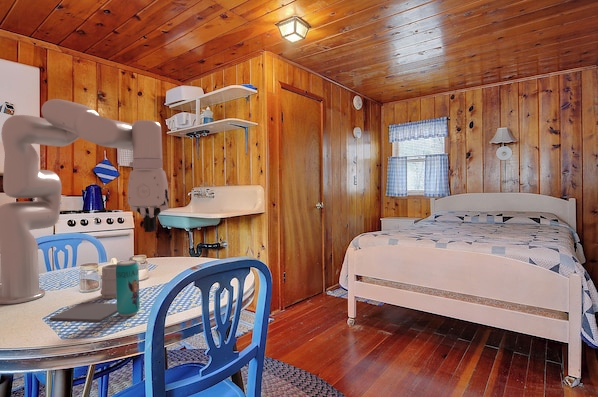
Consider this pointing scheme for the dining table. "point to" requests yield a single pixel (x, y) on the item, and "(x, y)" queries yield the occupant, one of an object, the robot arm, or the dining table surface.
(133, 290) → the beverage can
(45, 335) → the dining table surface
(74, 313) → the mat
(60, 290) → the dining table surface
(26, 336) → the dining table surface
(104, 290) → the mug
